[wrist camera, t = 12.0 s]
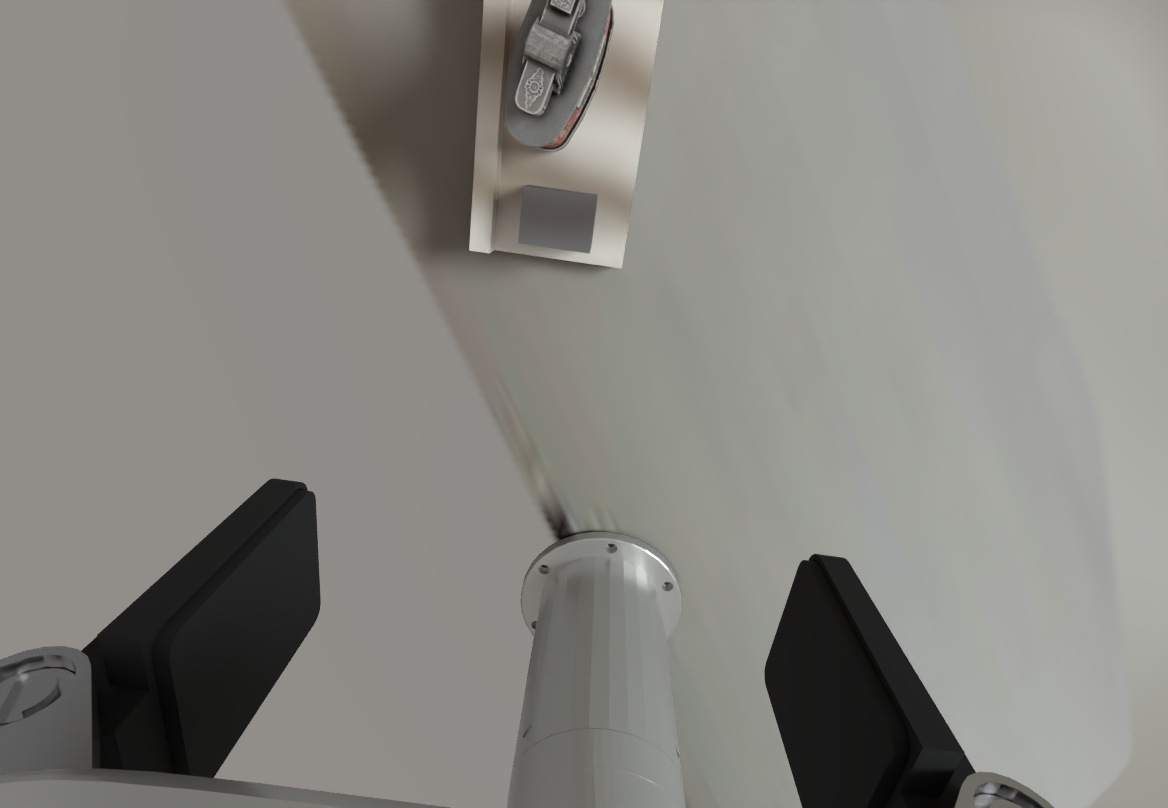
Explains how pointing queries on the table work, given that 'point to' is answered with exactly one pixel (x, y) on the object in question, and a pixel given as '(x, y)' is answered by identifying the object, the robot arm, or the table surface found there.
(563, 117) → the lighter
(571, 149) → the white base plate
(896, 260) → the table surface
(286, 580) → the robot arm
